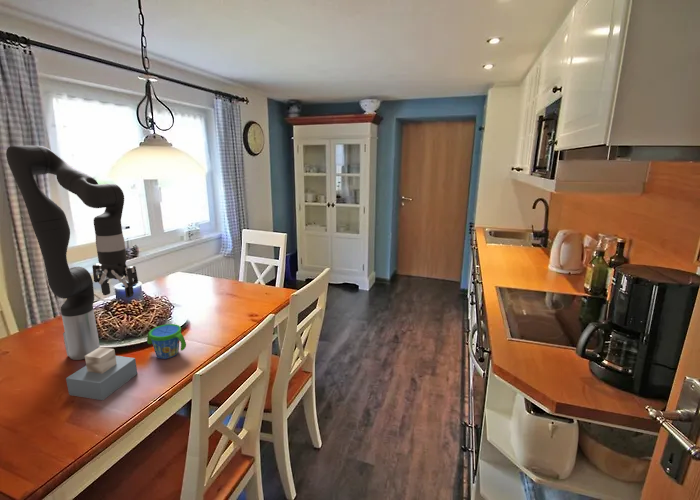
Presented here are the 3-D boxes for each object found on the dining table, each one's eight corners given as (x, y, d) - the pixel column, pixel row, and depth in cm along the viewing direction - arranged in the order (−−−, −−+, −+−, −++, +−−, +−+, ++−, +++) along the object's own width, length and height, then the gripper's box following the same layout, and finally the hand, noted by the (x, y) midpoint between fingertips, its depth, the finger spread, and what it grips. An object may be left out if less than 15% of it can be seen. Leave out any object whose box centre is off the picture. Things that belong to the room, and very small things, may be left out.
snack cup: (194, 352, 134) (192, 328, 131) (171, 366, 124) (168, 341, 122) (164, 343, 139) (161, 320, 136) (140, 356, 130) (137, 332, 127)
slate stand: (69, 395, 108) (65, 378, 106) (106, 369, 121) (104, 354, 120) (102, 400, 106) (99, 383, 105) (137, 373, 119) (135, 358, 118)
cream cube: (87, 371, 110) (84, 356, 109) (102, 361, 115) (99, 347, 114) (102, 373, 109) (99, 358, 108) (116, 363, 114) (114, 349, 113)
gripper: (140, 246, 112) (145, 293, 116) (101, 243, 115) (108, 289, 119) (121, 252, 105) (128, 302, 109) (81, 249, 107) (89, 297, 111)
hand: (118, 295), depth 114 cm, fingers open, 8 cm apart
